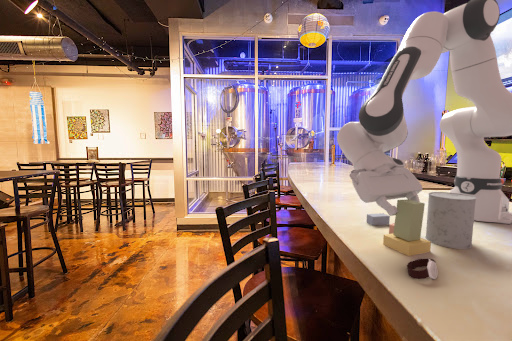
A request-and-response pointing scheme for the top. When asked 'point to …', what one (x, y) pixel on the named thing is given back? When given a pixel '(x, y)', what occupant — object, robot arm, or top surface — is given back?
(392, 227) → the terracotta brick
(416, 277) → the watch
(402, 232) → the olive brick
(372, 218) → the slate brick
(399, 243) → the ochre slab
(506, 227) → the top surface
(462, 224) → the speckled grey cylinder
